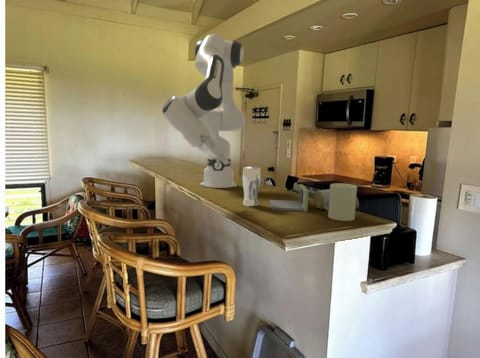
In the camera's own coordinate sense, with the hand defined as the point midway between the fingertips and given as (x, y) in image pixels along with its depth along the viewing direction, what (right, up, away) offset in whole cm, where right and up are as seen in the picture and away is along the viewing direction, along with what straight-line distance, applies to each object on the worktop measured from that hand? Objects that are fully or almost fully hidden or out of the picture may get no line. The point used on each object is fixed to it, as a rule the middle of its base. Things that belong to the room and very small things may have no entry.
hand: (223, 162), depth 132 cm
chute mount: (+24, -17, +5) cm, 30 cm away
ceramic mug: (+41, -18, +3) cm, 45 cm away
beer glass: (+10, -17, +6) cm, 21 cm away
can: (+42, -20, -9) cm, 48 cm away
